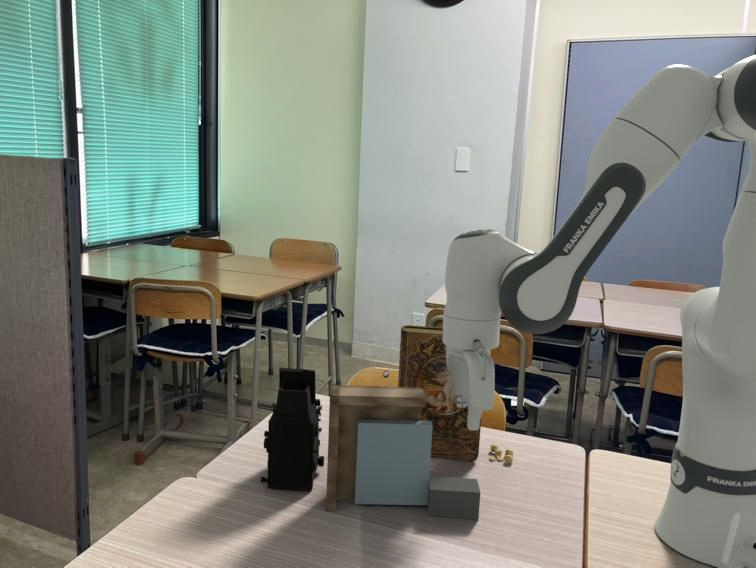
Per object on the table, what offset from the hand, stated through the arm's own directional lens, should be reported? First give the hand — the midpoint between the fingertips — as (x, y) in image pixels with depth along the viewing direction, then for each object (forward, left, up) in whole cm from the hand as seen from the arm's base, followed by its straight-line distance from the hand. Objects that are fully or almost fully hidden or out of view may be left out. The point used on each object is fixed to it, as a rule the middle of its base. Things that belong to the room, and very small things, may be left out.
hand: (466, 416), depth 96 cm
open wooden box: (+14, -1, -16) cm, 22 cm away
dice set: (-12, -19, -17) cm, 28 cm away
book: (+1, -21, -16) cm, 27 cm away
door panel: (+11, -1, -16) cm, 20 cm away
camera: (+28, -11, -16) cm, 34 cm away
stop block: (+1, +1, -16) cm, 16 cm away
